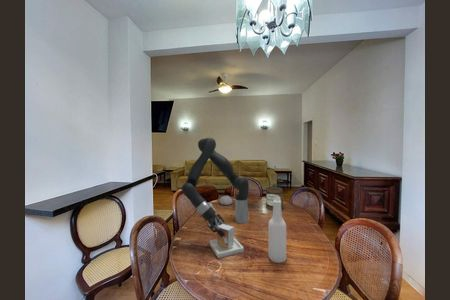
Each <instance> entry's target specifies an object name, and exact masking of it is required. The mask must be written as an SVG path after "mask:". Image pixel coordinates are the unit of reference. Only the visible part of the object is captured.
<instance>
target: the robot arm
mask: <svg viewBox="0 0 450 300" xmlns="http://www.w3.org/2000/svg"><path fill="white" fill-rule="evenodd" d="M197 147H198V149H199V151H200V152H201V153H200V155H199V157H198V158H197V159H196V160H195V162H194V163H193V164H192V166H191V168H190V170H189V172H188V175H187V179H186V181H185V183H184V184H183V185H182V186H181V192H182V194H183V195H184V196H185V197H186V198H187V199H188V200H189V201H190V202H191V205H192V206H193V207H194V208H195V209H196V211H197V212H198V214H200V216H201V217H202V218H203V219H204V221H206V222H208V223H207V224H206V225H207V227H208V228H209V229H210V230H211V232H212V233H213V234H214V233H216V234H217V233H218V234H219V236H220V237H223V236H224V234H223V232H222V231H221V230H219V227H218V226H219V225H221V224H225V219H224V218H223V217H222V216H221V215H220V213H217V214H216V212H217V211H216V212H215V211H214V209H215V208H214V207H213V208H214V209H213V208H212V207H211V206H210V205H209V204H208V203H209V202H207V200H206V199H205V198H204V197H203V196H202V195H201V194H200V192H198V190H197V184H198V181H199V179H200V177H201V175H202V172H203V169H204V168H205V166H206V164H207V162H208V161H209V160H210V161H211V162H212V163H213V165H214V166H215V167H216V168H217V169H218V170H219V171H220V172H221V174H222V175H223V176H224V177H225V178H226V179H227V180H228V181H229V183H230V184H231V185H232V186H233V188H234V189H235V190H237V191H238V193H237V194H235V196H234V198H235V199H234V201H235V205H234V206H235V208H234V209H235V214H234V215H235V219H234V220H235V221H234V222H235V223H237V224H247V223H248V222H249V221H250V220H249V218H250V217H249V215H250V213H249V208H248V196H249V187H250V185H249V181H248V179H246V178H245V177H244V178H243V177H240V176H238V175H237V174H236V173H235V171H234V167H233V165H232V163H231V162H230V161H229V159H228V158H226V157H225V156H224V155H222V154H220V153H218V152H217V151H216V150H215V149H216V147H217V142H216V140H215V139H214V138H212V137H205V138H202V139H200V140H198V142H197Z"/></svg>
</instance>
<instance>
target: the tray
mask: <svg viewBox="0 0 450 300" xmlns="http://www.w3.org/2000/svg"><path fill="white" fill-rule="evenodd" d="M209 246H210V247H211V250H212V252H213V253H214V254H215V256H216V258H217V259H218V260H219V259H222V258H226V257H230V256H233V255H234V256H235V255H239V254H242V253H244V252H245V247H244V246H243V245H242V244H241V243H240V242H239V240H237V238H236V237H234V245H233V246H231V247H230V248H229V249H227V248H225V247H222V246H220V245H217V238H216V239H211V240H209Z"/></svg>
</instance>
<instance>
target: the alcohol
mask: <svg viewBox="0 0 450 300" xmlns="http://www.w3.org/2000/svg"><path fill="white" fill-rule="evenodd" d="M268 258H269V259H270V261H272V262H273V263H277V264H282V263H285V261H286V260H287V224H286V222H285V220H284V219H283V214H282V210H281V201H280V200H274V201H273V211H272V216H271V218H270V219H269V221H268Z"/></svg>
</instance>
